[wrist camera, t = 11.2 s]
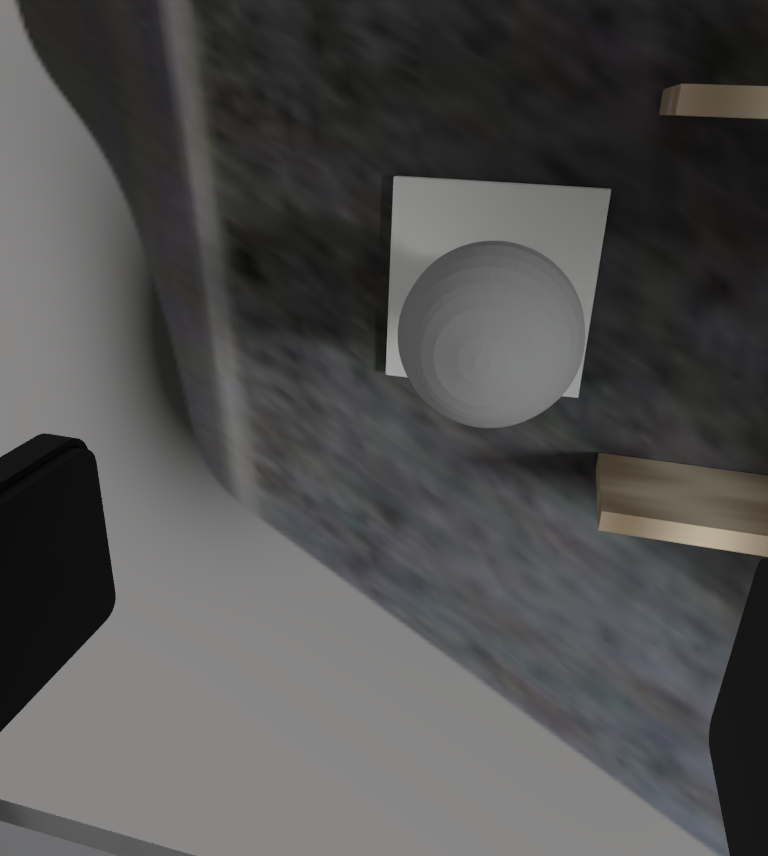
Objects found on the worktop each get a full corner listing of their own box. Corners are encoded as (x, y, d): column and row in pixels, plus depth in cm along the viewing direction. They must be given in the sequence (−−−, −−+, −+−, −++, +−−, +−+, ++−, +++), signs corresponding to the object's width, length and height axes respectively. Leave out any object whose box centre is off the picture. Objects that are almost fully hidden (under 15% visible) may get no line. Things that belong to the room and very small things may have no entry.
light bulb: (413, 247, 28) (350, 299, 19) (550, 193, 26) (553, 223, 17) (460, 374, 29) (423, 479, 20) (593, 331, 28) (616, 425, 19)
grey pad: (610, 188, 26) (611, 189, 26) (578, 393, 29) (578, 397, 29) (396, 175, 28) (393, 176, 27) (388, 371, 31) (385, 374, 30)
